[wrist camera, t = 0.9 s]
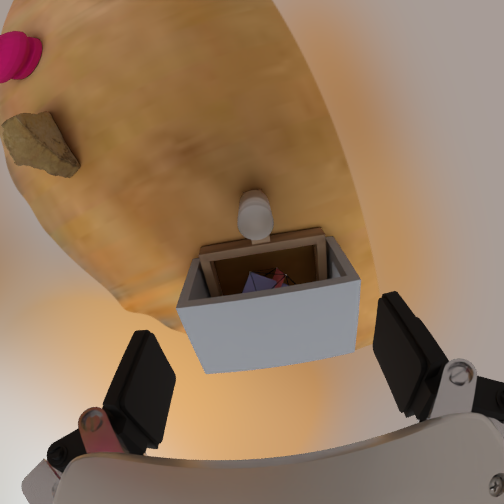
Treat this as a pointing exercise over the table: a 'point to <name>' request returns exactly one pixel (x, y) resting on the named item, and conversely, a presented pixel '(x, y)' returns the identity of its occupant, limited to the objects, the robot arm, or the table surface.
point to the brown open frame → (260, 240)
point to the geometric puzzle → (264, 281)
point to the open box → (273, 319)
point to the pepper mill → (18, 55)
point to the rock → (39, 144)
